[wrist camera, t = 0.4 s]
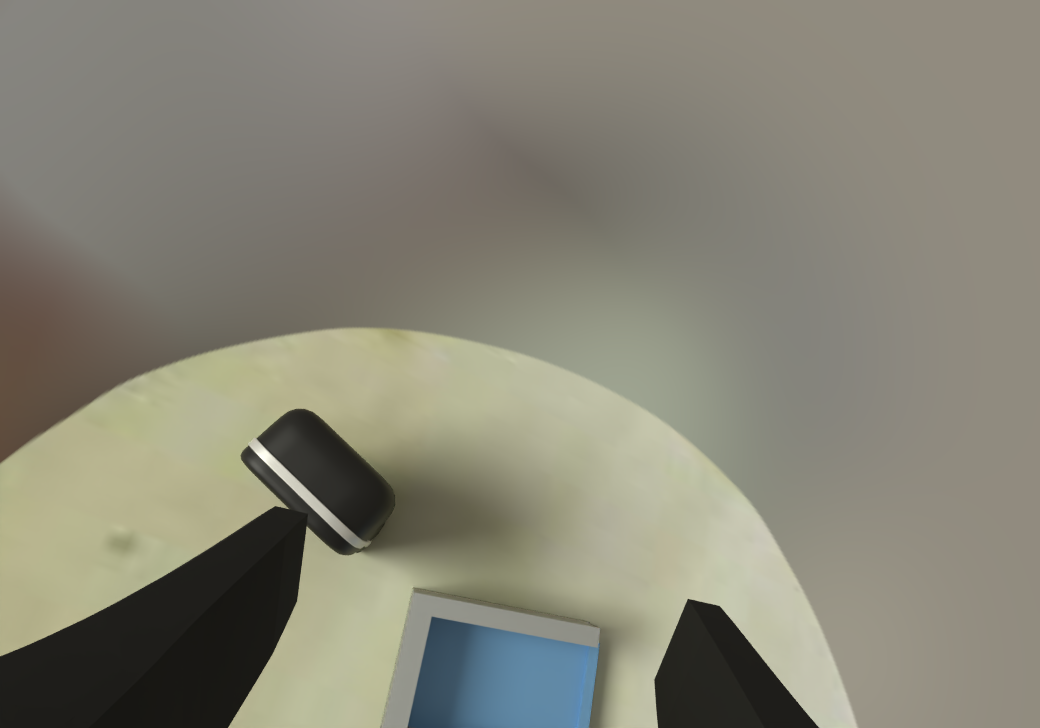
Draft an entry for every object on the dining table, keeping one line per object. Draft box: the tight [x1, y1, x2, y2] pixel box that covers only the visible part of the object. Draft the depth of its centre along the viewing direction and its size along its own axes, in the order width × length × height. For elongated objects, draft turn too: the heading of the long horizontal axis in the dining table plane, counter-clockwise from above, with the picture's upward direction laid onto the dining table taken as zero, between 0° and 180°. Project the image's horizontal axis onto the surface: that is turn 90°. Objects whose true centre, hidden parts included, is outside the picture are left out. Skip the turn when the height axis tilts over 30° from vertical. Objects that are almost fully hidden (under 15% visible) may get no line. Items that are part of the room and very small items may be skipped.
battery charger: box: [241, 409, 395, 555], centre depth 31 cm, size 7×4×11 cm, turn 48°
